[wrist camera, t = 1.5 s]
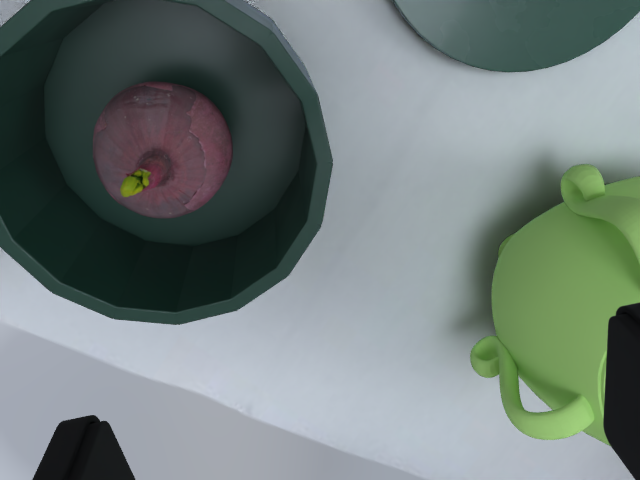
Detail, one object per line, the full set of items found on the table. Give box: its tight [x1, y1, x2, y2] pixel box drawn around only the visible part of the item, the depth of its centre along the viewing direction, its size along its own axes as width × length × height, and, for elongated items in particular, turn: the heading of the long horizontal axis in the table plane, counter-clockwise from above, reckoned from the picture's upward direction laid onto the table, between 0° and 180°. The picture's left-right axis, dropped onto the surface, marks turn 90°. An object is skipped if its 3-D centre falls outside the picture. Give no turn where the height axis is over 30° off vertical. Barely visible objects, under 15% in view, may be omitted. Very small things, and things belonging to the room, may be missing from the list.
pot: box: [0, 0, 333, 325], centre depth 26 cm, size 14×14×7 cm
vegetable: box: [93, 82, 233, 218], centre depth 24 cm, size 6×6×10 cm
